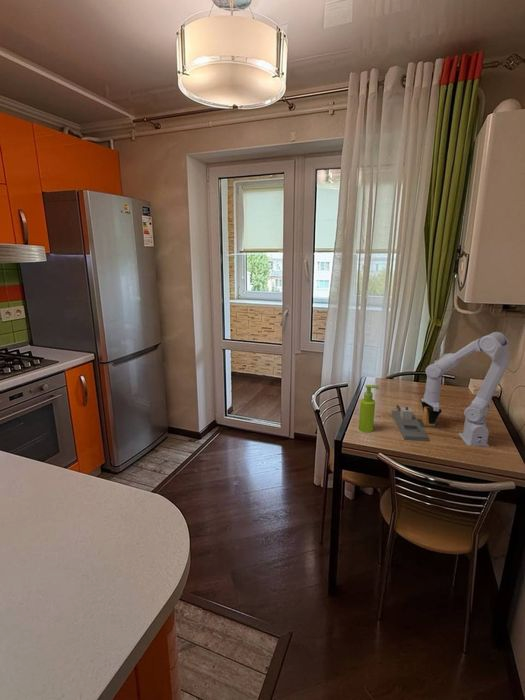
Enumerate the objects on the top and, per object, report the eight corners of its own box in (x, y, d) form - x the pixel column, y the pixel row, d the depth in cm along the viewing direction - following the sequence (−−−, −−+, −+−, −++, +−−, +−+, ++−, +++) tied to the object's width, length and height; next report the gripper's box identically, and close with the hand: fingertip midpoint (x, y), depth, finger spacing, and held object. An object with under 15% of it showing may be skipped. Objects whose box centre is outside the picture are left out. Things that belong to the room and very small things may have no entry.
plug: (434, 425, 160) (436, 408, 158) (424, 425, 160) (427, 408, 158) (431, 421, 164) (433, 404, 162) (422, 421, 164) (424, 404, 162)
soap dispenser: (375, 433, 154) (379, 388, 149) (358, 431, 156) (362, 387, 150) (374, 426, 160) (378, 383, 154) (358, 425, 161) (361, 382, 156)
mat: (440, 428, 158) (441, 428, 158) (421, 427, 159) (421, 427, 159) (434, 420, 166) (434, 419, 166) (416, 419, 167) (416, 418, 166)
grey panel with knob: (427, 441, 148) (429, 426, 146) (404, 440, 149) (406, 424, 147) (407, 408, 178) (408, 394, 176) (387, 407, 179) (389, 393, 177)
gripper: (418, 384, 165) (414, 411, 169) (428, 396, 151) (424, 426, 155) (434, 384, 165) (430, 412, 168) (446, 397, 151) (441, 427, 154)
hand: (428, 419), depth 162 cm, fingers open, 7 cm apart
